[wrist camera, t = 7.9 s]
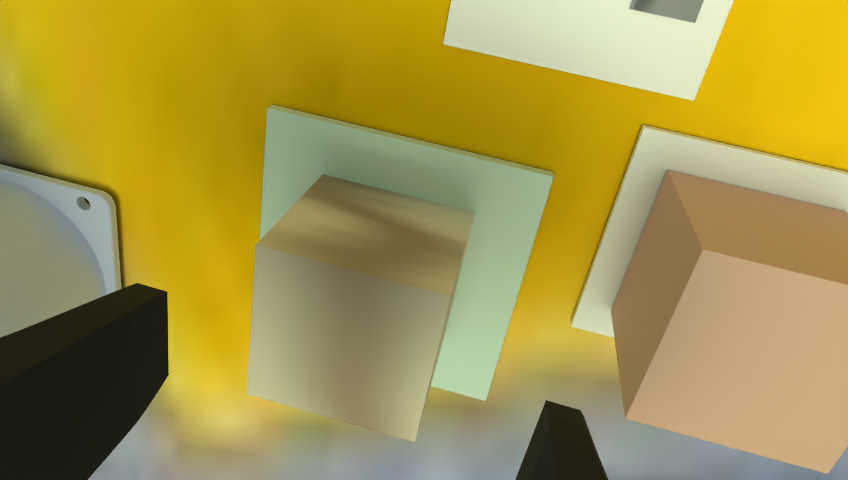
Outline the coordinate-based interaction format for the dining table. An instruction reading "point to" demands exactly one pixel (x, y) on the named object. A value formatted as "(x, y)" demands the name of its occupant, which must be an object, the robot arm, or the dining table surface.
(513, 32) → the code tile
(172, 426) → the dining table surface
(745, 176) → the code tile
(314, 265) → the birch block
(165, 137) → the dining table surface
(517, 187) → the coaster
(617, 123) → the dining table surface
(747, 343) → the terracotta block
